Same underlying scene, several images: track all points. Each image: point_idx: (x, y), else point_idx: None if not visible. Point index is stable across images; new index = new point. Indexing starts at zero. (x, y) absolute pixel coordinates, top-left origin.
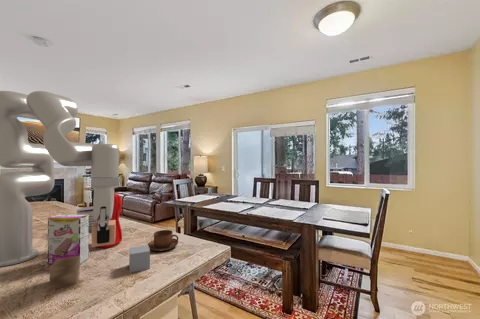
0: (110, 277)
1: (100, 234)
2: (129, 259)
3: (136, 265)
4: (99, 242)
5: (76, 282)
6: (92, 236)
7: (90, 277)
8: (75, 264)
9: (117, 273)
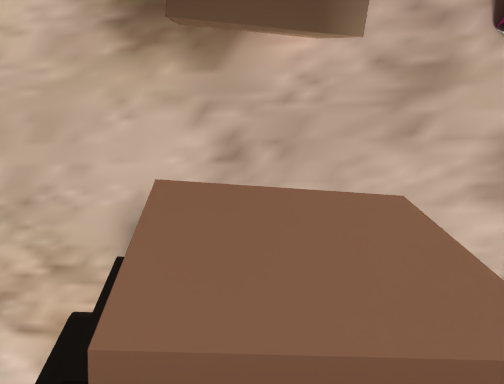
0: None
1: (41, 380)
2: None
3: None
4: None
5: (195, 25)
6: (134, 246)
7: (230, 106)
8: (167, 11)
9: None
